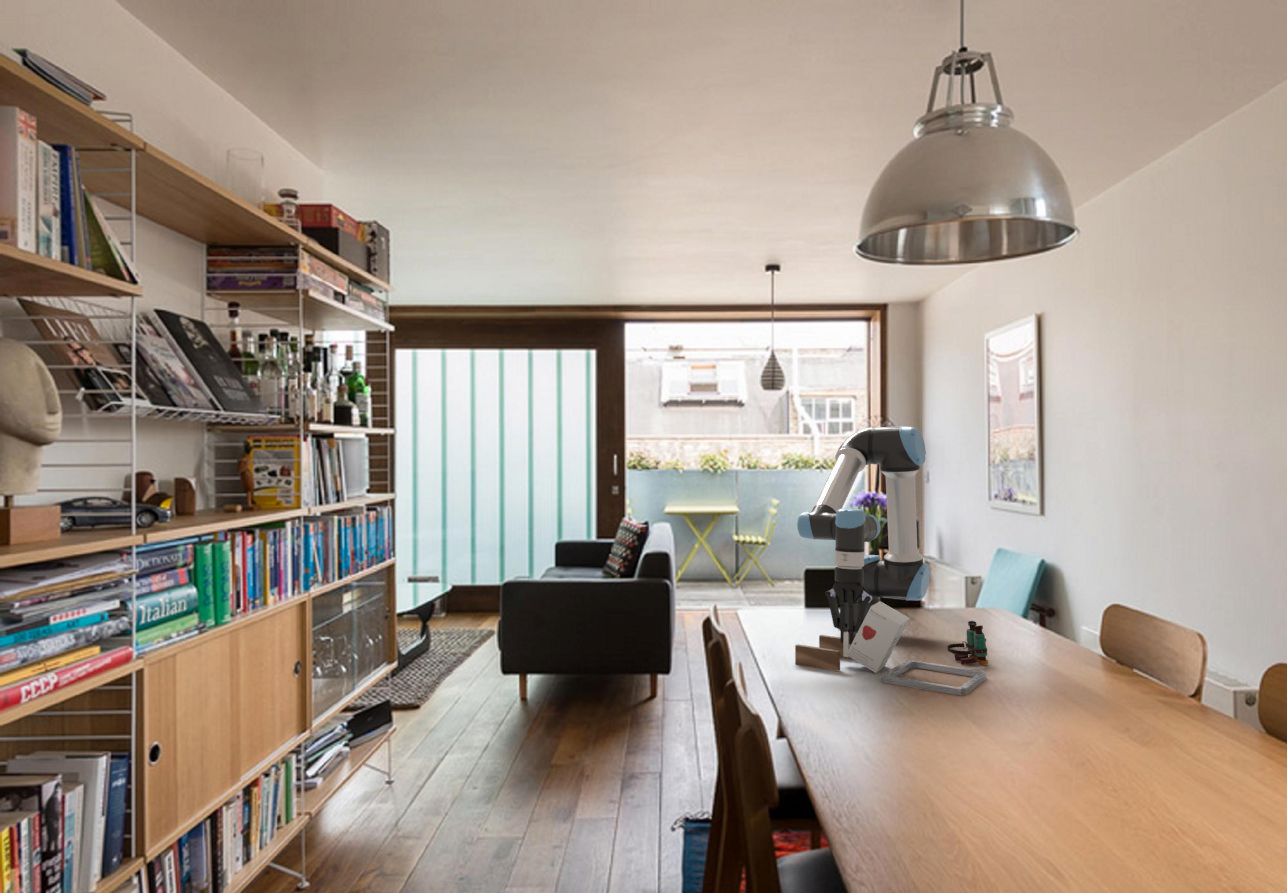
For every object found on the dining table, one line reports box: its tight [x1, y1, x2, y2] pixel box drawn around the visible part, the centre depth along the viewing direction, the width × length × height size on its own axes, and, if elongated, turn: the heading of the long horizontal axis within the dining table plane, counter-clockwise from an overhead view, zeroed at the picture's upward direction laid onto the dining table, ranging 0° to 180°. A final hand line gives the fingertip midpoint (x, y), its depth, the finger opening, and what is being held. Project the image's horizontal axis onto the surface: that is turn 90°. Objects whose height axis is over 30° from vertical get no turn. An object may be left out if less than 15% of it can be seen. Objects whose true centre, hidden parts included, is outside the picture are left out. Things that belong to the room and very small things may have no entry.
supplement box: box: [846, 600, 910, 674], centre depth 216 cm, size 9×9×15 cm
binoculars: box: [946, 620, 989, 666], centre depth 223 cm, size 9×11×10 cm
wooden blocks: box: [794, 634, 852, 672], centre depth 224 cm, size 16×12×5 cm
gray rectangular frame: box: [881, 659, 987, 697], centre depth 206 cm, size 20×20×2 cm
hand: (847, 656), depth 220 cm, fingers closed
